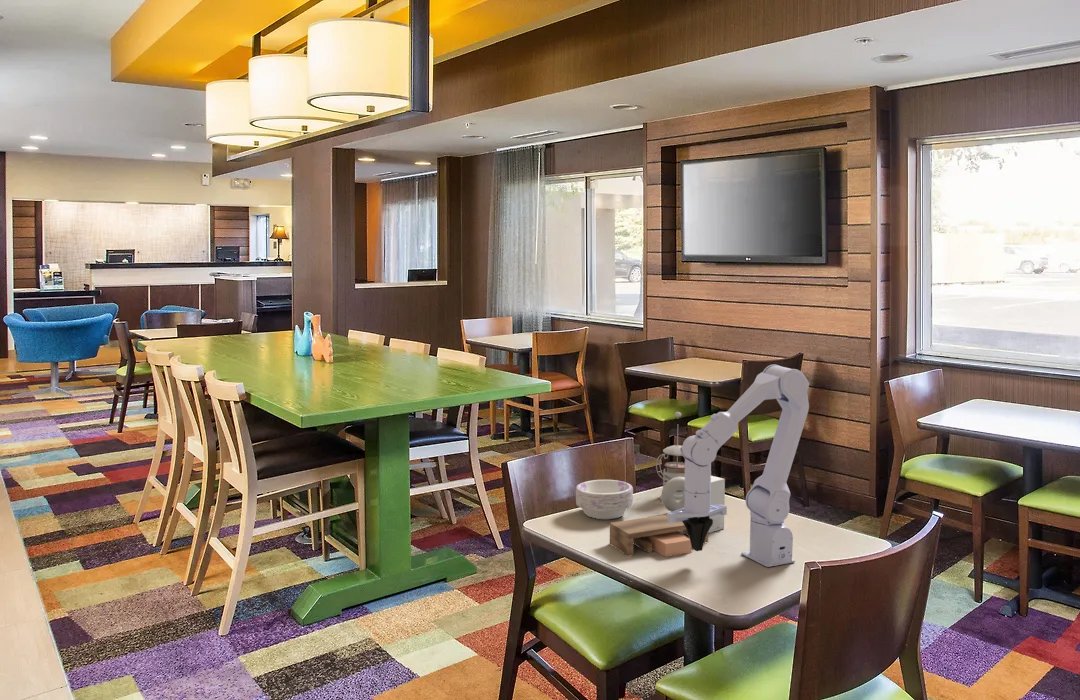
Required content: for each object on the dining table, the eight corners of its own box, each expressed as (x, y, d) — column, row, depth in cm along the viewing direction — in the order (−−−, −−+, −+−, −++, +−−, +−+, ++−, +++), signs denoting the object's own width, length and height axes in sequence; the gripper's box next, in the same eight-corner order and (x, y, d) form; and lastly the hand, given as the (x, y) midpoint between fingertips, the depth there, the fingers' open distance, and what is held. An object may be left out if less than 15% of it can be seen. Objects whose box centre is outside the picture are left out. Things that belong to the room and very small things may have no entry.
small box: (724, 528, 216) (725, 478, 214) (708, 534, 212) (709, 482, 210) (699, 521, 222) (700, 472, 221) (683, 526, 218) (684, 476, 217)
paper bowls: (568, 509, 233) (568, 480, 232) (620, 504, 237) (621, 476, 236) (586, 525, 218) (586, 495, 217) (641, 521, 222) (641, 491, 221)
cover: (691, 552, 199) (691, 539, 198) (665, 556, 196) (665, 544, 195) (672, 541, 206) (672, 529, 206) (647, 545, 203) (647, 533, 203)
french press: (681, 505, 236) (682, 416, 233) (647, 497, 244) (648, 411, 241) (700, 498, 243) (702, 411, 240) (667, 490, 251) (668, 406, 248)
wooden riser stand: (707, 542, 205) (708, 521, 205) (628, 555, 196) (628, 533, 196) (686, 531, 213) (686, 511, 213) (609, 543, 204) (609, 522, 204)
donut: (664, 516, 226) (664, 479, 225) (658, 512, 229) (659, 476, 228) (698, 513, 229) (699, 477, 228) (693, 509, 232) (693, 473, 231)
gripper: (713, 482, 196) (713, 539, 197) (660, 489, 190) (659, 548, 191) (732, 489, 189) (731, 548, 191) (677, 497, 183) (677, 558, 185)
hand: (696, 549), depth 191 cm, fingers closed
